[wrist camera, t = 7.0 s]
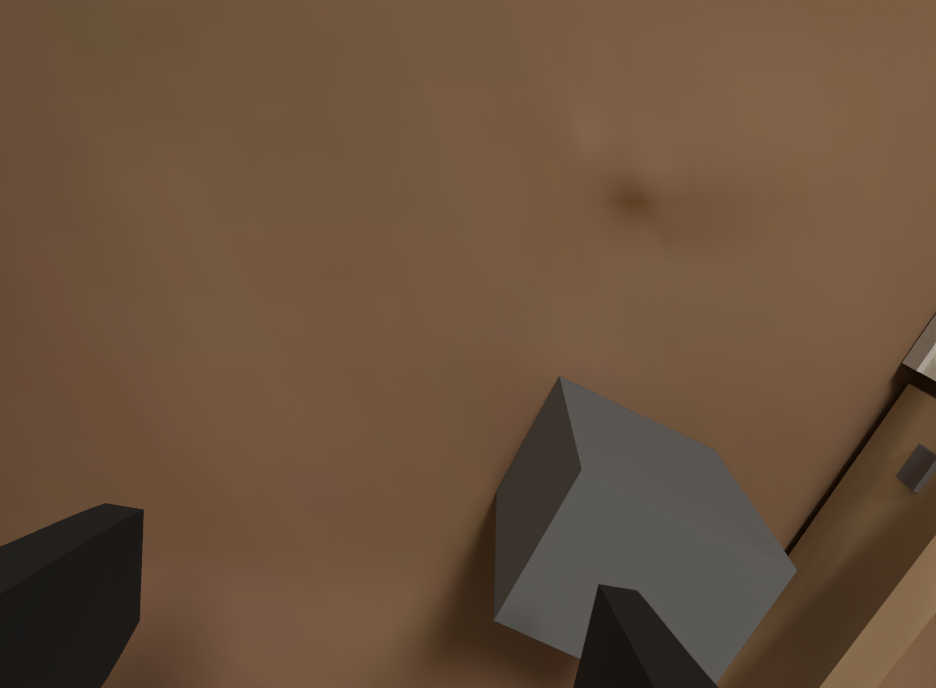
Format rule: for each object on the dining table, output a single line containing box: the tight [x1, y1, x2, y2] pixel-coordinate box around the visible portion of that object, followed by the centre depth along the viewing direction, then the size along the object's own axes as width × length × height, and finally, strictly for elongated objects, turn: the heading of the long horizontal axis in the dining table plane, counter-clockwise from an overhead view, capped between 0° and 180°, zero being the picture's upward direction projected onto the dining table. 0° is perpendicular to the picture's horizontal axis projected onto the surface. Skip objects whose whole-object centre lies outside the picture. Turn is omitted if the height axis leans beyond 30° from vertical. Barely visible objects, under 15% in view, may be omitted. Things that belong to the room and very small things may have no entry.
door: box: [716, 384, 936, 688], centre depth 19 cm, size 2×14×4 cm, turn 154°
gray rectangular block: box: [494, 376, 797, 684], centre depth 18 cm, size 5×4×6 cm
